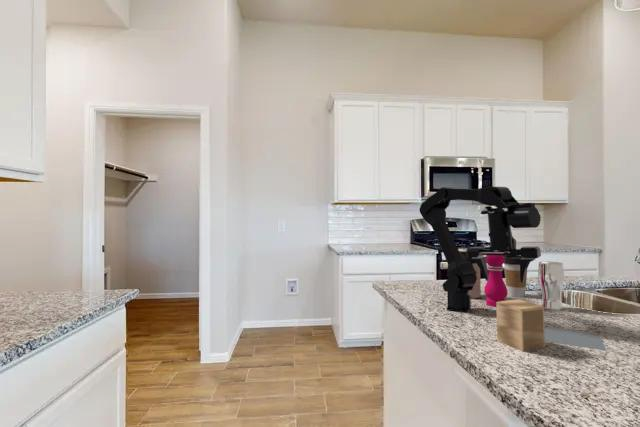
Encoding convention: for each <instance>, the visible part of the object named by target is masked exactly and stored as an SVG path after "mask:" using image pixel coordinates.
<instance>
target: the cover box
mask: <svg viewBox="0 0 640 427" xmlns="http://www.w3.org/2000/svg"><path fill="white" fill-rule="evenodd" d="M496 306H497V307H496V333H497V334H496V335H497V340H496V341H497V342H499V343H501V344H504V345H506V346H508V347H510V348H513V349H515V350H518V351H519V352H520V351H521V352H528V351H533V350H537V349H542V348H545V347H546V341H545V327H546V326H545V309H544V306H542V305H541V304H538V303H535V302H531V301H527V300H523V299H519V298H517V299H516V298H515V299H510V300H506V301H500V302H496Z"/></svg>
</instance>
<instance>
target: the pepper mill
mask: <svg viewBox="0 0 640 427" xmlns="http://www.w3.org/2000/svg"><path fill="white" fill-rule="evenodd" d="M494 252H499V250H494ZM504 256H505V255H485V257H487V259H486V264H487V269H488V275H489V280H488V281H486V283H485V285H484V295H485V296H486V299H485V304H486V305H487V306H491V307H496V308H497V306H496V302H500V301H507V299H505V298H506V297H508V296H509V295H508V292H507V286H506V282H505V281H504V279H503V271H504V265H503V264H504V262H505V258H504Z"/></svg>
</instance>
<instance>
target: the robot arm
mask: <svg viewBox="0 0 640 427" xmlns="http://www.w3.org/2000/svg"><path fill="white" fill-rule="evenodd" d="M452 200H460V201H474V202H477V203H479V204H482V205H486V206H485V207H484V209H483V210H482V211H480V214H481V215H487V221H488V222H487V223H488V237H489V248H487V249H485V246H471V247H467V248H466V249H467V251H466V256H467V257H472V258H471V260H474V261H475V262H476V264H477V265H478V267H479V268H480V273H481V274H482V276H483V277H484V279H485V281H486V282H487V281H488V280H489V270H488V269H487V268H488V267H487V266H488V263H487V262H486V259H487V257H486V255H504V256H506V255H519V256H522V259H520V280H521V283H523V281H524V278H525V274H526V271H527V272H528V268H529V265H530V263H531V262H534V261H535V260H536V259H538V258H540V257H542V253H541V251H542V250H541V247H539V246H535V245H534V246H533V245H532V246H522V247H520V248H517V239H515V238H514V236H513V232H512V228H513V229H532V228H538V227H539V225H540V224H541V219H542V218H541V217H542V216H541V214H540V212H539V210H538V208H537V207H536V204H535V202H528V203H522V204H520V202H518V200H517V199H516V198H515V197H514V196H513V195H512V192H511V190H510V189H509V188H508V187H507V186H485V187H480V188H473V189H472V188H452V187H449V186H447V187H444V186H443V187H441V188H439V189H437V191H436V192H435V193H434V194H431V195H430V196H428V197H427V199H426V200H425V201H422V203H421V204H420V207H419V213H420V215H421V216H422V219H423V220H424V221H425V222H426V223H427V224H428V225H430V226H431V228H432V231H433V232H434V235H435V237H436V239H437V241H438V244H439V247H440V249H441V251H442V253H443V255H444V257H445V260H446V262H447V268H446V269H447V271H446V273H447V277H448V278H447V279H446V280H445V281H444V282H443V283H442V289H443V292H447V293H446V294H447V295H446V296H447V307H446V310H447V311H452V312H453V311H454V312H460V313H462V312H463V313H468V312H469V311H470V310H471V308H472V299H471V296H470V295H469V290H472V289H473V286H474V284H475V283H476V280H477V276H476V273H477V272H476V271H475V270H474V268H473V264H472V263H471V262H465V261H464V260H463V259H462V257H461V255H460V252H459V250H458V249H459V248H458V246H457V244H456V243H455V240H454V237H453V235H452V232H451V231H450V229H449V226H448V224H447V222H446V219H447V212H446V210H447V208H449V206H450V203H451V201H452ZM494 207H495V208H494ZM505 209H507V210H505ZM494 250H498V251H497V252H494Z"/></svg>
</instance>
